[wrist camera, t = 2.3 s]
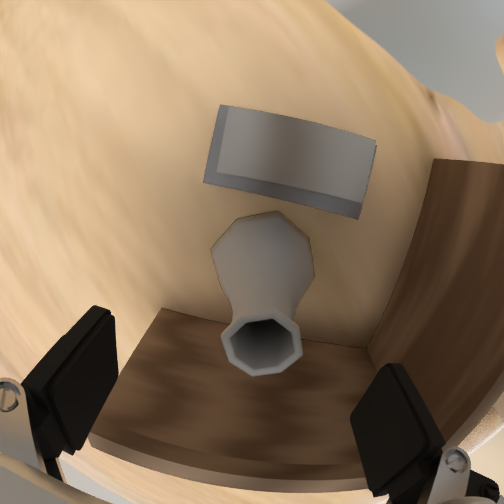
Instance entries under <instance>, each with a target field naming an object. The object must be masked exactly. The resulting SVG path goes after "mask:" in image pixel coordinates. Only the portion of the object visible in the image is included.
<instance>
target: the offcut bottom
mask: <svg viewBox="0 0 504 504" xmlns="http://www.w3.org/2000/svg"><path fill="white" fill-rule="evenodd" d="M231 107H232V106H231ZM228 110H229V106H226V105H220V107H219V112H218V116H217V120H216V124H215V129H214V133H213V137H212V142H211V146H210V151H209V156H208V160H207V165H206V170H205V175H204V180H203V183H207V184H212V185H217V186H222V187H227V188H232V189H236V190H241V191H246V192H250V193H255V194H259V195H264V196H268V197H272V198H277V199H281V200H285V201H289V202H293V203H297V204H301V205H305V206H309V207H313V208H317V209H321V210H325V211H328V212H332V213H336V214H340V215H343V216H347V217H350V218H354V219H357V220H358V219H359V215H360V212H361V208H362V205H363V203H360V202H356V201H352V200H348V199H344V198H340V197H336V196H332V195H328V194H324V193H320V192H315V191H311V190H307V189H302V188H298V187H293V186H288V185H283V184H279V183H274V182H269V181H263V180H258V179H253V178H247V177H242V176H236V175H230V174H224V173H218V172H217V167H218V162H219V156H220V151H221V145H222V140H223V135H224V129H225V124H226V119H227V114H228ZM376 147H377V145H375V149H374V155H373V160H372V165H373V161H374V156H375V152H376ZM372 165H371V169H372ZM370 174H371V170H370ZM370 174H369V178H370ZM368 182H369V179H368ZM367 186H368V184H367ZM366 190H367V188H366ZM365 193H366V192H365Z"/></svg>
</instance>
